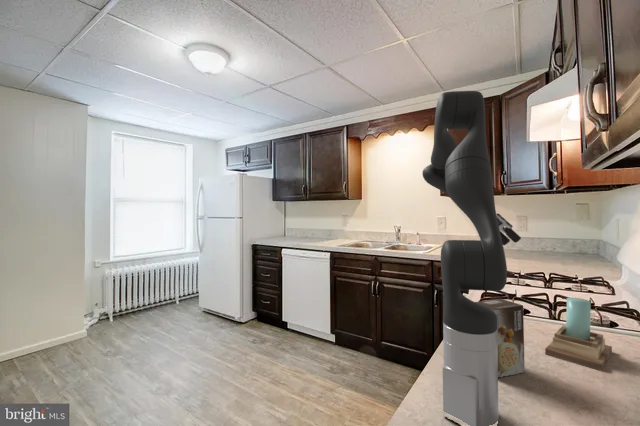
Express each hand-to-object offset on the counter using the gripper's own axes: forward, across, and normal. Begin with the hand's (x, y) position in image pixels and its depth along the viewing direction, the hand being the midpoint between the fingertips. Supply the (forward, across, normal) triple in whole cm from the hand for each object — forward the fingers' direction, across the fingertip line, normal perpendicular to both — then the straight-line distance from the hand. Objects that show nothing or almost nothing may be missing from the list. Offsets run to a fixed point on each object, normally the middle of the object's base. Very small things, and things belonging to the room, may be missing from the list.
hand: (513, 241), depth 89 cm
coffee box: (+23, -21, +18) cm, 36 cm away
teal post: (+27, +3, +8) cm, 28 cm away
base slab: (+30, +3, +10) cm, 32 cm away
